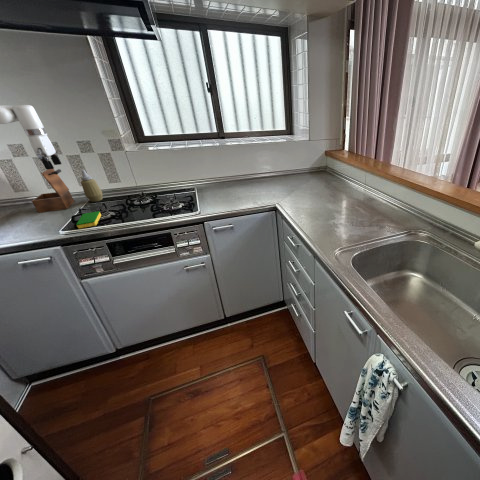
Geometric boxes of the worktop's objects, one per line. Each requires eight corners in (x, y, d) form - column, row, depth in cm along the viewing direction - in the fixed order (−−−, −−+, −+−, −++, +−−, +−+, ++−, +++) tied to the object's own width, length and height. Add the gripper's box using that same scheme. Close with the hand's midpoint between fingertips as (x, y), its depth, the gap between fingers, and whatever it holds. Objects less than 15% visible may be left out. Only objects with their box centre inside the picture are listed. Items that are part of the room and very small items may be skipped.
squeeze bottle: (103, 196, 163) (90, 167, 154) (106, 200, 158) (92, 170, 149) (87, 200, 159) (73, 170, 150) (89, 203, 153) (74, 173, 144)
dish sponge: (101, 215, 140) (99, 210, 138) (96, 225, 129) (94, 221, 128) (84, 217, 137) (82, 213, 136) (78, 229, 126) (75, 224, 125)
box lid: (40, 173, 136) (51, 170, 138) (50, 167, 146) (60, 165, 147) (59, 196, 144) (69, 194, 145) (67, 190, 153) (77, 187, 154)
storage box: (38, 212, 144) (31, 200, 140) (47, 205, 153) (41, 193, 149) (66, 208, 148) (60, 197, 144) (74, 201, 157) (68, 190, 153)
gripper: (35, 130, 139) (52, 163, 147) (17, 135, 125) (37, 171, 134) (52, 129, 141) (69, 162, 150) (37, 134, 127) (56, 169, 136)
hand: (54, 166), depth 142 cm, fingers open, 9 cm apart
